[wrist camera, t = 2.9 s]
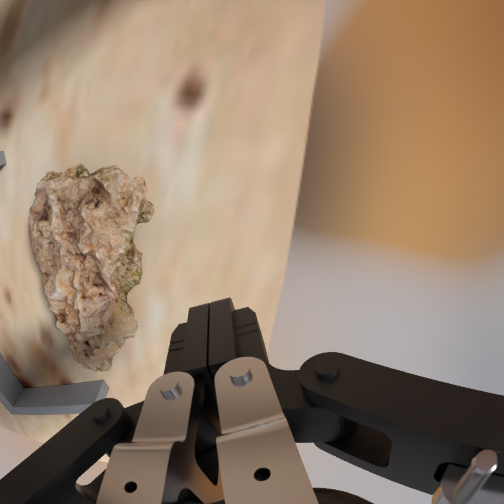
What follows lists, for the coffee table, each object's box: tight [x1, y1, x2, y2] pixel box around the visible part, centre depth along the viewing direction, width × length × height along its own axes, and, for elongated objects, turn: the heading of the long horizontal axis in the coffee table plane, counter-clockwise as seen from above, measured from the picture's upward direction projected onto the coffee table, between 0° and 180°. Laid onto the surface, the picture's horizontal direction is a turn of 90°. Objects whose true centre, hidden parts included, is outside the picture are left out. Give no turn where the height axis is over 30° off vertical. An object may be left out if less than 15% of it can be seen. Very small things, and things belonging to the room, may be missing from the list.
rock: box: [29, 164, 154, 372], centre depth 21 cm, size 17×5×10 cm
